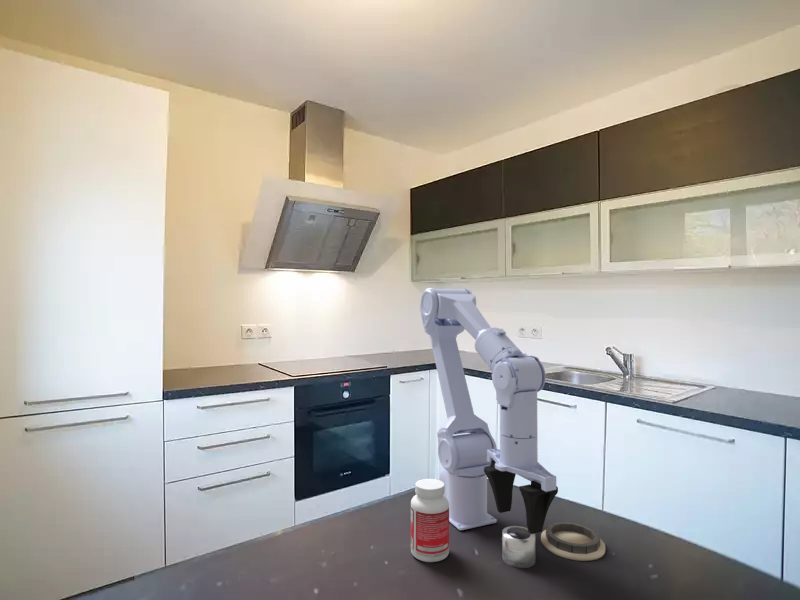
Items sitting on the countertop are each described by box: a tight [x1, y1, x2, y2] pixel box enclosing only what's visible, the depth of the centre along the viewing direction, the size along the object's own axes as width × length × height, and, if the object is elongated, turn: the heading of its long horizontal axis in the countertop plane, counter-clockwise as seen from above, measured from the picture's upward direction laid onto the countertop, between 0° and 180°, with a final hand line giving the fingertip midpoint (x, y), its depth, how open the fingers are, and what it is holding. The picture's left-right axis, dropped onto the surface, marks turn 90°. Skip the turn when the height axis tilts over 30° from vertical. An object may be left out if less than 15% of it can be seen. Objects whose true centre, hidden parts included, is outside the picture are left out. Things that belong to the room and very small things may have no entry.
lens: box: [501, 525, 536, 569], centre depth 72 cm, size 5×5×4 cm
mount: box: [540, 521, 606, 562], centre depth 76 cm, size 10×10×2 cm
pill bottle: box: [410, 478, 450, 563], centre depth 74 cm, size 6×6×11 cm
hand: (518, 521), depth 72 cm, fingers open, 7 cm apart
